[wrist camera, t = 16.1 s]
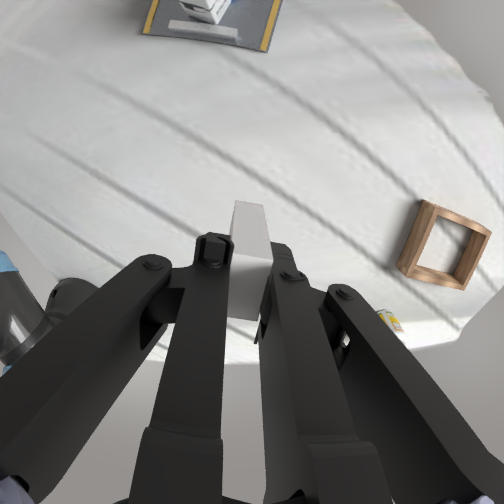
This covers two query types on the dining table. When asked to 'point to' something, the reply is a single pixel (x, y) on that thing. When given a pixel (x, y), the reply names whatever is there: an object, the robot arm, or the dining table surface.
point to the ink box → (205, 9)
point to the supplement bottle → (393, 324)
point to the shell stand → (419, 240)
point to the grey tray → (226, 31)
